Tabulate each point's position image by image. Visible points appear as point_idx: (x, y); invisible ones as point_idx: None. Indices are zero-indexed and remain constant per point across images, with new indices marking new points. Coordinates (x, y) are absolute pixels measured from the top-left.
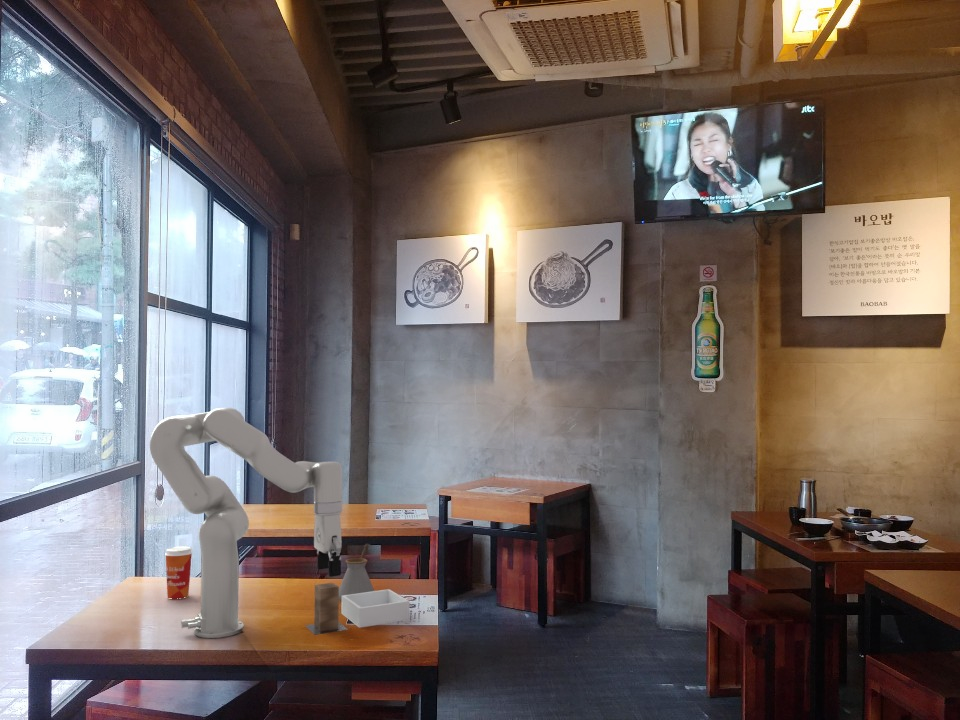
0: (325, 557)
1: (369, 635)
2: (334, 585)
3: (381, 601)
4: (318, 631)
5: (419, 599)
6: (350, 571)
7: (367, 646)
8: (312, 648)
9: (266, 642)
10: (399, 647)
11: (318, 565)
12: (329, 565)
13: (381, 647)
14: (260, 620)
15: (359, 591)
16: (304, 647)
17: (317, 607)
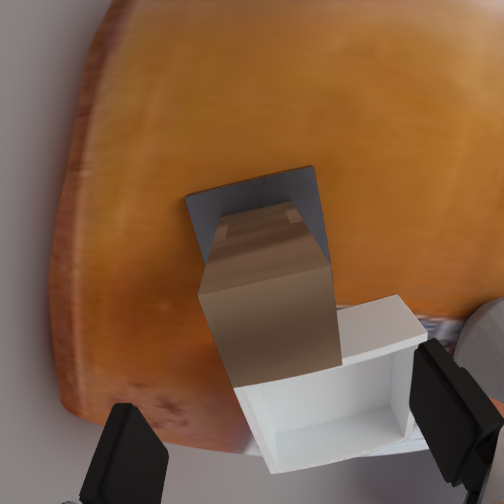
0: (444, 451)
1: (189, 352)
2: (271, 372)
3: (396, 406)
4: (221, 212)
5: (422, 438)
6: None
7: (101, 333)
8: (96, 186)
9: (193, 32)
10: (96, 387)
11: (430, 364)
12: (91, 469)
13: (94, 358)
14: (443, 42)
15: (470, 366)
16: (109, 160)
17: (255, 235)
